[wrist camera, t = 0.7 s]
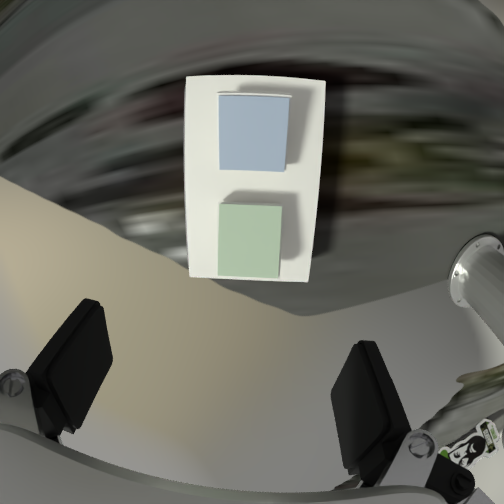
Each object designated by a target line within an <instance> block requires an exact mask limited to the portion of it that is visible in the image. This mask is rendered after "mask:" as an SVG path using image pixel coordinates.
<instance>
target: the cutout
mask: <svg viewBox="0 0 504 504" xmlns="http://www.w3.org/2000/svg"><path fill="white" fill-rule="evenodd" d="M476 430H477V433H473V434H471V435H470V436H468V437H467V438H466V439H465V440H462V441H460V442H458V443H456V444H455V445H454V446H453V447H452V448H451V449H450V448H449V447H447V446H445V447H443V448H441V449H440V450H439V452H438V453H439V454H441V455H442V456H444V457H446V458H448V459H450V460H451V461H453V462H455V463H457V464H459V465H461V466H462V467H464V468H466V469H468V470H469V469H471V468H472V467H473V466H474V465H475V464H476V462H477V461H479V460H480V459H482V458H483V457H487V458H490V457H491V456H493V455H494V454H495V453H496V452H497V451H498V446H497V442H498V441H499V439H500V437H499V434H498V431H497V429H496V426H495V424H494V423H492V421H491V420H488V419H484V420H482V421H481V422H480V423H479V424H477V426H476Z"/></svg>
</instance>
